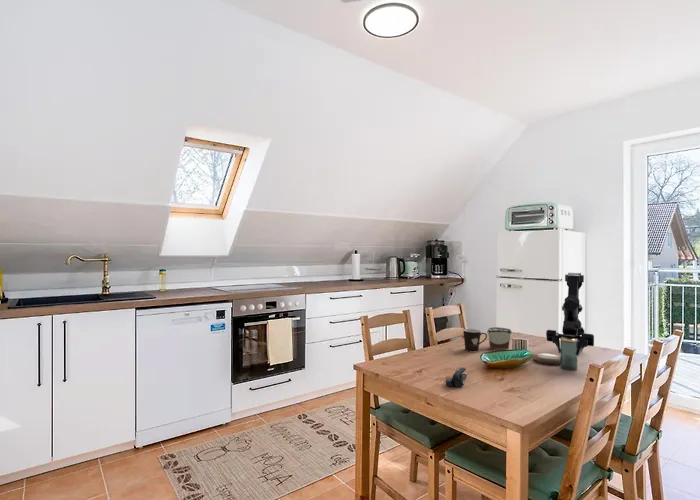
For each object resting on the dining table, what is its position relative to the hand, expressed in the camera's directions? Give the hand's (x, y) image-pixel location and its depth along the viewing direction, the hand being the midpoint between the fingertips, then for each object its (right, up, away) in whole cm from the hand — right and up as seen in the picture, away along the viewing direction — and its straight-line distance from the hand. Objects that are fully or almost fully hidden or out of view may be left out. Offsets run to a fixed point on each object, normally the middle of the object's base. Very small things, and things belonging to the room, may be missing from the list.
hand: (568, 353), depth 182 cm
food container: (-17, -6, +38) cm, 42 cm away
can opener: (-52, -7, -18) cm, 56 cm away
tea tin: (+1, -7, +1) cm, 7 cm away
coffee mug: (-31, -6, +31) cm, 45 cm away
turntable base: (-3, -6, +12) cm, 14 cm away
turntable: (-3, -5, +12) cm, 14 cm away
